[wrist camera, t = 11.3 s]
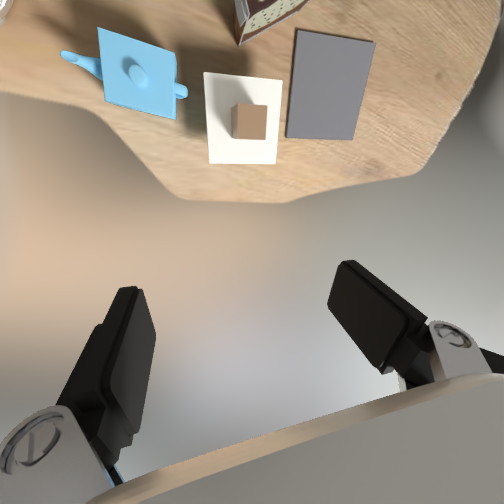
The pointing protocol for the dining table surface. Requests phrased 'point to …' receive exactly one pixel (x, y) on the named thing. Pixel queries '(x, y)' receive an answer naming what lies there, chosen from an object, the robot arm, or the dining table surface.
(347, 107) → the mat
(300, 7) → the food container
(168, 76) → the teapot
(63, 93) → the dining table surface
